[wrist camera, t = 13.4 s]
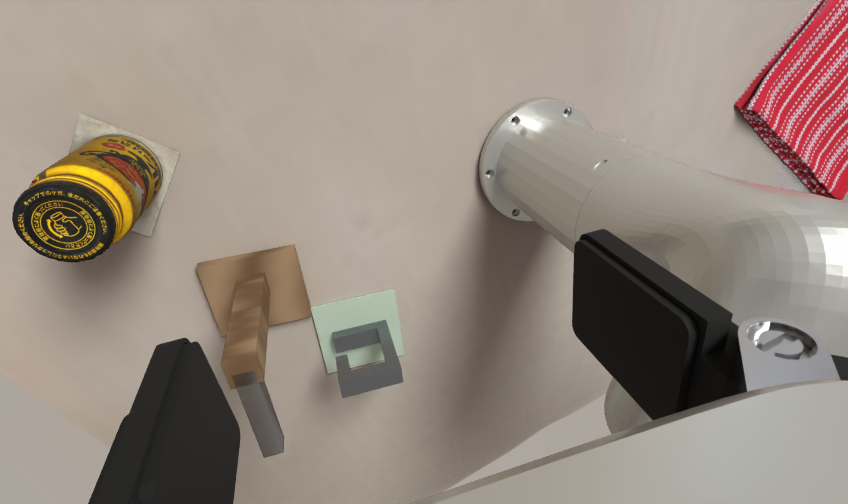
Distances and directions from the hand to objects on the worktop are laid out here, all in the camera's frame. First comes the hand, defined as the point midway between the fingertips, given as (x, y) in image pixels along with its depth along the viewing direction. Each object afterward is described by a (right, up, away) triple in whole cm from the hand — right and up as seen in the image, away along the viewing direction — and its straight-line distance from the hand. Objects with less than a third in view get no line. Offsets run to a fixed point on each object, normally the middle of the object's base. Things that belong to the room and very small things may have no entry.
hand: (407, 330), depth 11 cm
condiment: (-25, +8, +27) cm, 38 cm away
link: (-7, -7, +40) cm, 41 cm away
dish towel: (+48, +20, +43) cm, 68 cm away
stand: (-16, -3, +36) cm, 39 cm away
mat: (-7, -7, +40) cm, 41 cm away
